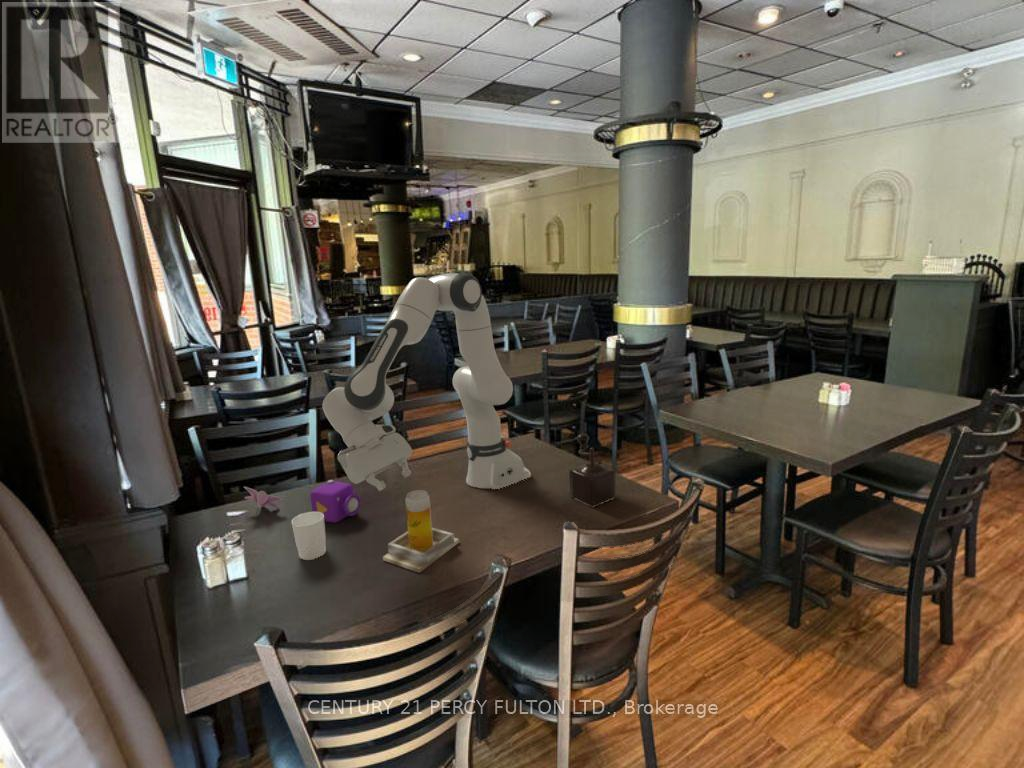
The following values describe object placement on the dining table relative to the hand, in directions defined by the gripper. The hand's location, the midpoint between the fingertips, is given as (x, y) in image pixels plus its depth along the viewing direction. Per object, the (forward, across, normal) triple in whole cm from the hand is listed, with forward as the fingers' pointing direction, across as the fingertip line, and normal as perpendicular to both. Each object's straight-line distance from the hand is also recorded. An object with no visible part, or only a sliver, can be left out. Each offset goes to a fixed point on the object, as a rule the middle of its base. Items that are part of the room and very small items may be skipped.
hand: (396, 481), depth 136 cm
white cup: (0, -14, +26) cm, 29 cm away
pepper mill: (+36, +50, -10) cm, 62 cm away
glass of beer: (+17, 0, +7) cm, 19 cm away
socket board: (+18, 0, +8) cm, 19 cm away
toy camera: (-7, +4, +33) cm, 34 cm away
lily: (-24, -6, +49) cm, 55 cm away
